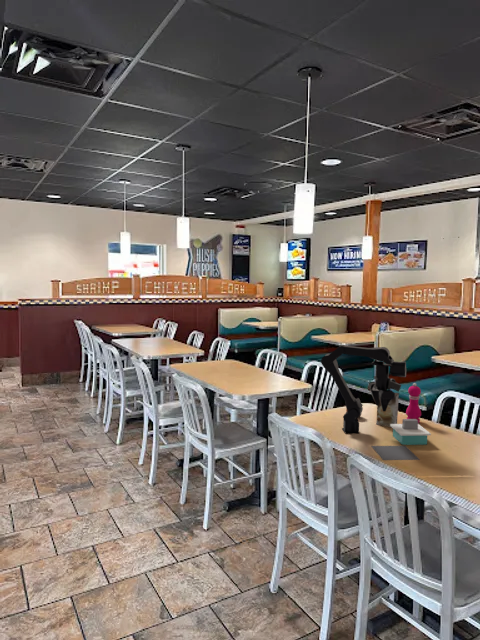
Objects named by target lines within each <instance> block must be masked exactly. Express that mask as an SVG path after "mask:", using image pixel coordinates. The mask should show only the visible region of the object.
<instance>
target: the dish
mask: <svg viewBox="0 0 480 640" xmlns="http://www.w3.org/2000/svg"><path fill="white" fill-rule="evenodd" d="M392 437H393V438H394V439H395V440H396V441H397V442H398V443H400V445H401V446H417V445H418V446H419V445H420V446H424V445H425V446H427V445H428V435H415V436H401V435H400V434H399V433H398V432H397V431H396V430H394V429H393V428H392Z"/></svg>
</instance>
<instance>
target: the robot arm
mask: <svg viewBox="0 0 480 640" xmlns="http://www.w3.org/2000/svg"><path fill="white" fill-rule="evenodd" d="M342 355H349V356H357V357H365V358H370V359H372V360H374V361H372V362H371V364H370V365H371V366H375V374H374V376H373V379H374V381H375V382H369V384H368V389H369V391H370V393H371V396H372V399H373V401H374V402H375V406H376V407H377V406H379V402H380V403H381V406H382V410H383V411H384V412H385V411H386V409H387V406H388V404H389V401H390V400H392V399H394V398H395V393H396V392H395V391H397V393H399V392H400V390H401V387H402V385H401V384H400V383H398V382H397V381H396V379H395V378H390V377H389V374H390V375H391V376H392V377H399V378H406V377H407V362H406V361H395V360H394V358H393V357H392V356H391V351H390V350H389V349H388V347H386V346H378V347H376V346H375V347H363V346H362V347H361V346H353V345H352V346H351V345H345V344H341V345H339V346H338V347H337V348H335V350H333V351H332V352H331V353H326V354H325V355H323V356H322V357H321V360H320V363H321V365H322V366H323V368H324V369H325V370H326V371H327V372H328V373H329V375H331V377H332V379H333V380H334V381H333V382H334V383H335V385H336V387H337V389H338V390H339V393H340V395H341V396H342V398H343V400H344V403H345V409H347V412H346V411H345V413H344V415H342V416H343V417H342V418H343V420H342V421H343V423H342V425H343V426H342V427H341V429H342V431H343V432H344V434H347V435H348V434H350V435H351V434H360V422H359V419H358V418H360V417H361V416H360V414H361V413H363V412H364V411H363V409H364V408H363V406H364V404H363V403H362V402H361V400H360V398H359V397H357V398H355V396H354V395H353V393H352V392H351V390H350V388H349V386H348V384H347V382H346V380H345V378H344V377H343V375H342V373H341V372H340V368H339V364H338V361H337V359H338V358H340V357H341V356H342ZM393 390H394V391H393ZM361 415H362V414H361ZM359 416H360V417H359Z"/></svg>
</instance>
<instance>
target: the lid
mask: <svg viewBox="0 0 480 640" xmlns="http://www.w3.org/2000/svg"><path fill="white" fill-rule="evenodd" d="M390 426H391V427H390V428H392V430H393V429H394V430H396V431H397V432H398V433H399V434H400V435H401V436H415V435H427V436H431V435H432V433H431V432H430V431H428V430H427V429H426V428H424V427H423V426H422V425H421V424H420V423H418V420H416V419H407V418H403V419H402V423H397V424H390Z"/></svg>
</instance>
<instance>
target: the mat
mask: <svg viewBox="0 0 480 640" xmlns="http://www.w3.org/2000/svg"><path fill="white" fill-rule="evenodd" d="M371 448H372V449H373V450H374V451H375V452H376V454H377V455H378V456H379V458H380V459H381V460H382V461H415V460H416V461H420V460H421V459H420V458H419V457H418V456H417V455H416V454H415V453H414V452H412V450H411V449H409V447H408V446H407V445H371Z"/></svg>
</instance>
